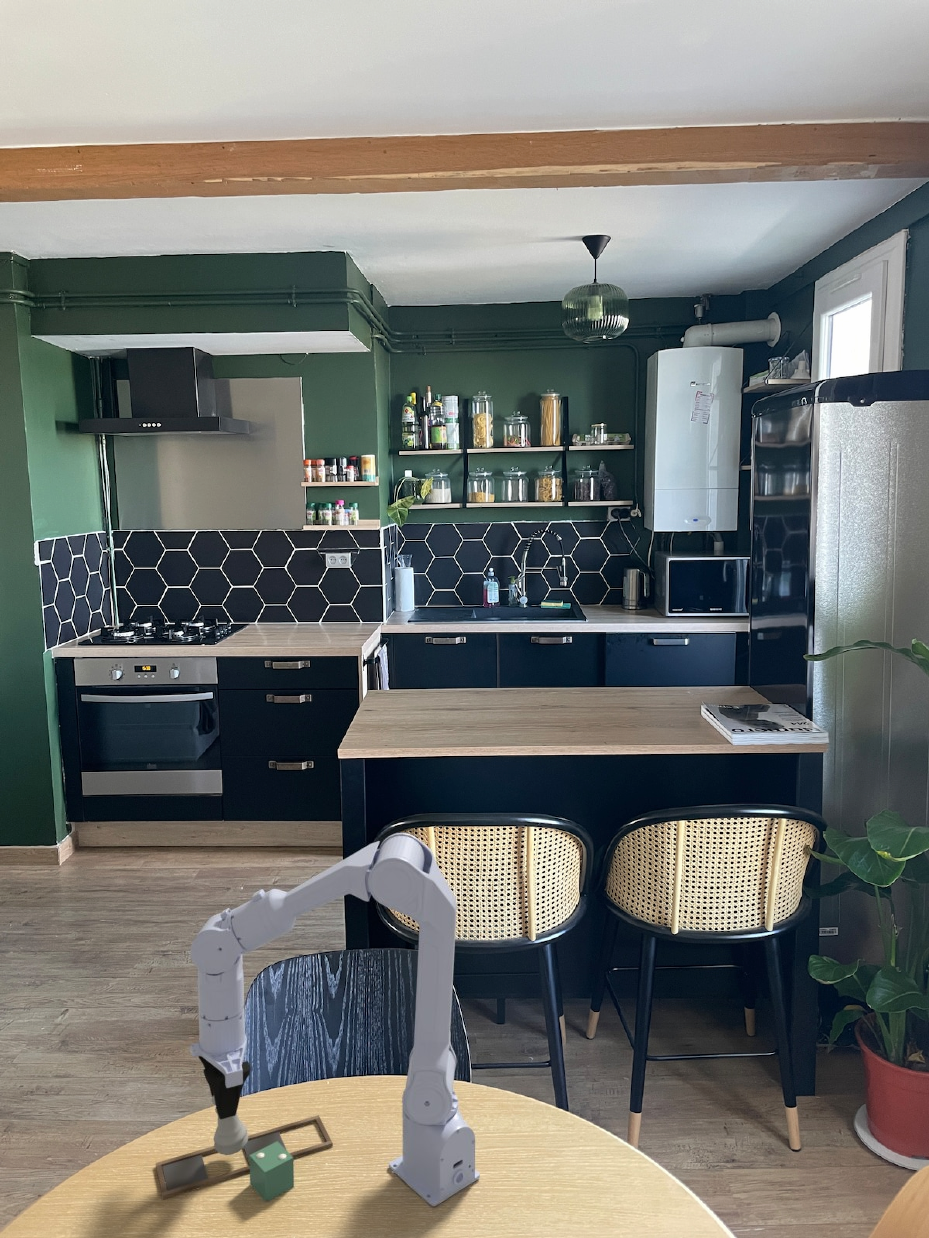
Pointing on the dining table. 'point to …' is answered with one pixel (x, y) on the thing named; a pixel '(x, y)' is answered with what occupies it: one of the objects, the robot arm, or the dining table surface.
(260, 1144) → the track board
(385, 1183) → the dining table surface
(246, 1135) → the rook chess piece
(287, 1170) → the green die
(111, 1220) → the dining table surface
